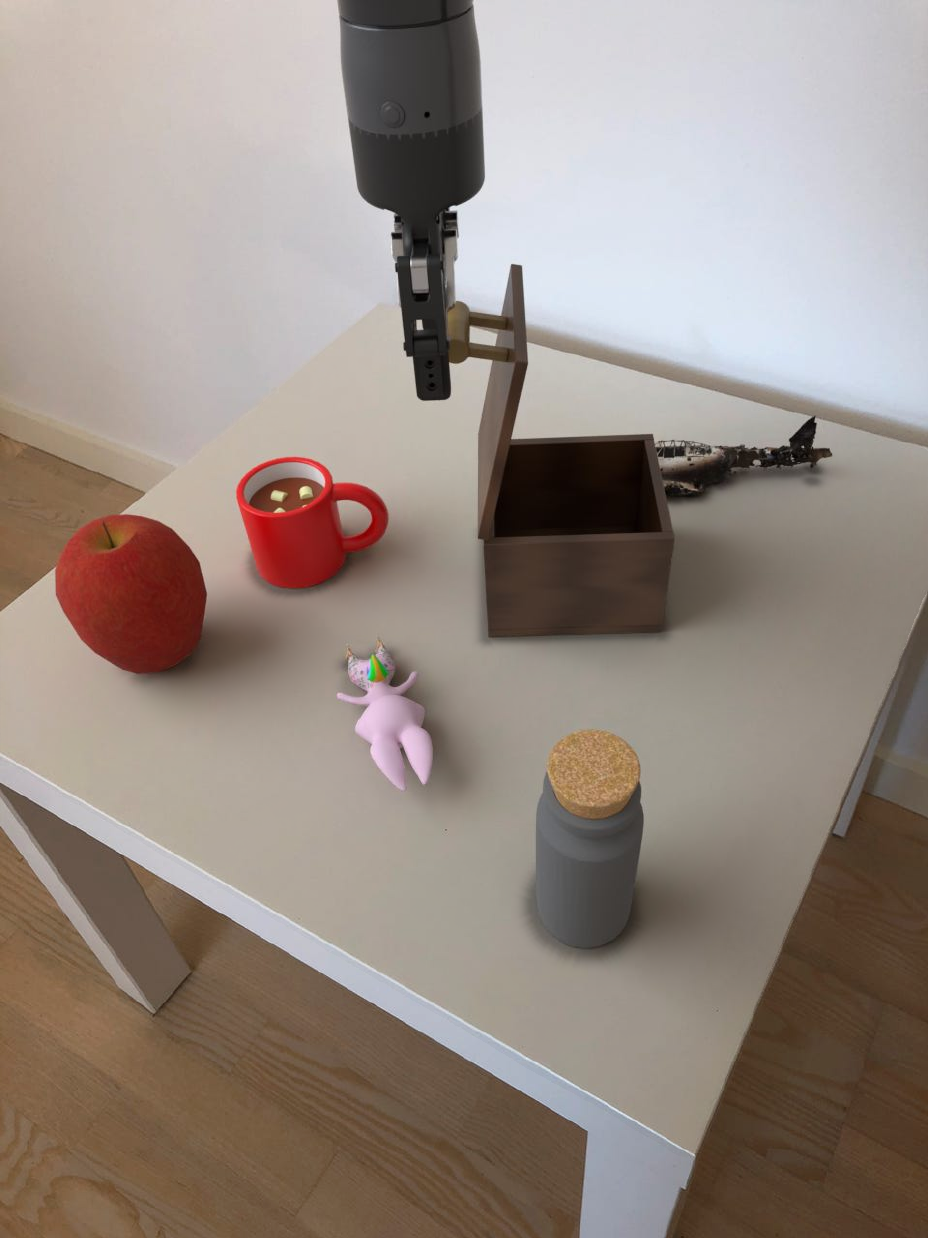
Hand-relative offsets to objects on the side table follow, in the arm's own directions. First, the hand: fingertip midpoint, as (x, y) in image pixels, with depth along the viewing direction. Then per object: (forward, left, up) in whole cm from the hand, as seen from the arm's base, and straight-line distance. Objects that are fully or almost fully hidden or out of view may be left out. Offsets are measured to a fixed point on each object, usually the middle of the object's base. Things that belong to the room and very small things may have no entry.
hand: (436, 361), depth 64 cm
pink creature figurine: (+5, +15, -21) cm, 26 cm away
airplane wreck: (-24, -12, -21) cm, 34 cm away
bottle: (-8, +29, -21) cm, 37 cm away
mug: (+12, -4, -21) cm, 24 cm away
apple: (+24, +7, -21) cm, 32 cm away
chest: (-9, 0, -21) cm, 23 cm away
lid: (-5, 0, -4) cm, 6 cm away
